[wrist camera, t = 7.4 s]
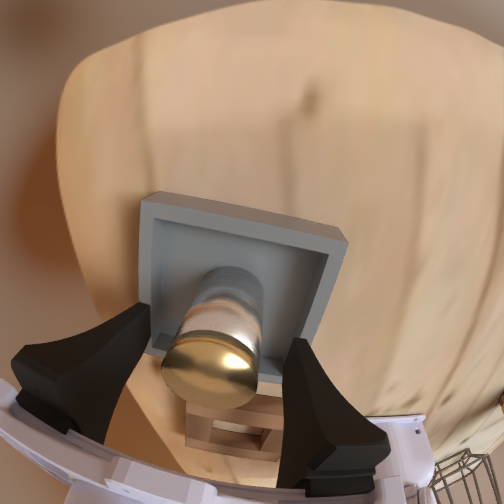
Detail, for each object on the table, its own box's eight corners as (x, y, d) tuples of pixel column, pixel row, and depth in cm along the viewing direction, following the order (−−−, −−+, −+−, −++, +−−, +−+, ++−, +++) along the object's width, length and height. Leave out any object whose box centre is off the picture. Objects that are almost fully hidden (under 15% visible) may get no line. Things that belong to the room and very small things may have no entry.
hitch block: (305, 400, 21) (306, 418, 19) (276, 447, 25) (276, 461, 23) (192, 380, 21) (186, 397, 19) (189, 431, 25) (185, 445, 23)
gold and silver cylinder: (270, 273, 16) (267, 358, 9) (257, 327, 17) (248, 416, 11) (202, 259, 16) (159, 334, 9) (197, 315, 17) (162, 396, 11)
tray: (338, 227, 15) (348, 242, 13) (291, 361, 19) (292, 385, 17) (159, 191, 15) (141, 200, 13) (154, 331, 19) (141, 352, 17)
